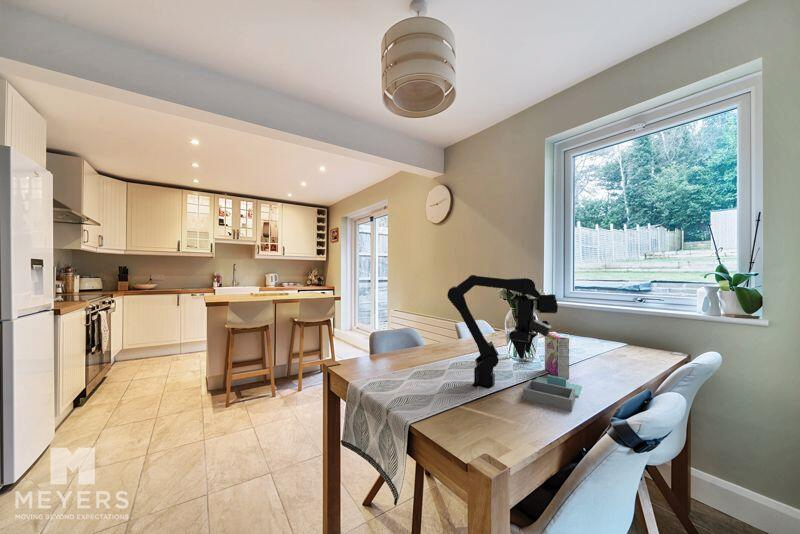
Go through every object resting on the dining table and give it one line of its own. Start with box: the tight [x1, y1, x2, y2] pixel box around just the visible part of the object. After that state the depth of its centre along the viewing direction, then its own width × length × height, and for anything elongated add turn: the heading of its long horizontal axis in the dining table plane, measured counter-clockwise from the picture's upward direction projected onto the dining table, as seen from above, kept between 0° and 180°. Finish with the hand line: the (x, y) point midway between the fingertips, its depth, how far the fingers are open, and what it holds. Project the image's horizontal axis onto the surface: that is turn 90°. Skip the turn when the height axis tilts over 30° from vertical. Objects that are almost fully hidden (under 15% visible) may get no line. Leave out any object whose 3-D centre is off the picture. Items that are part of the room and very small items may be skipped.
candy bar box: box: [544, 331, 570, 380], centre depth 123 cm, size 11×5×16 cm, turn 179°
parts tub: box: [522, 379, 576, 412], centre depth 98 cm, size 14×10×4 cm
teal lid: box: [534, 374, 582, 398], centre depth 108 cm, size 15×11×5 cm
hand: (524, 355), depth 108 cm, fingers open, 9 cm apart
